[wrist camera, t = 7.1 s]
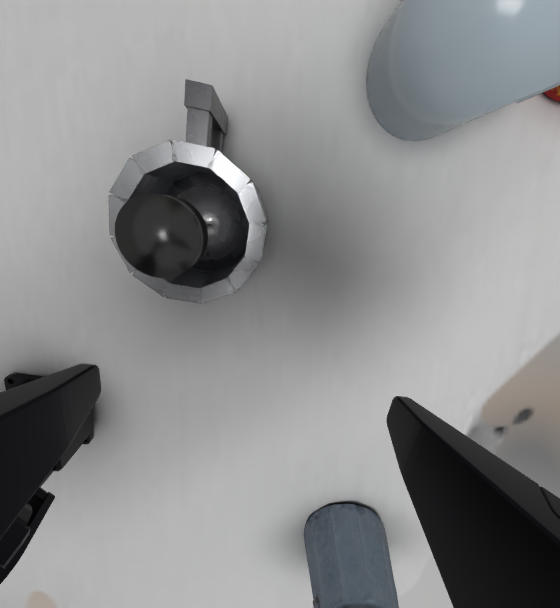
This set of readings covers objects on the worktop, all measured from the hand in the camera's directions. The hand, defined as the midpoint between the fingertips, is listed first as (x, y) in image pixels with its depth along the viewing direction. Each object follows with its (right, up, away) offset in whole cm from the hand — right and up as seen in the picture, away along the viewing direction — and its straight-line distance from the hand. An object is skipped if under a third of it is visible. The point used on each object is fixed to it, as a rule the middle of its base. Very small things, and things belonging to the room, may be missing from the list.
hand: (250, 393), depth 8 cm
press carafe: (-4, +10, +10) cm, 15 cm away
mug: (+10, +17, +8) cm, 21 cm away
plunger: (-4, +8, +10) cm, 14 cm away
